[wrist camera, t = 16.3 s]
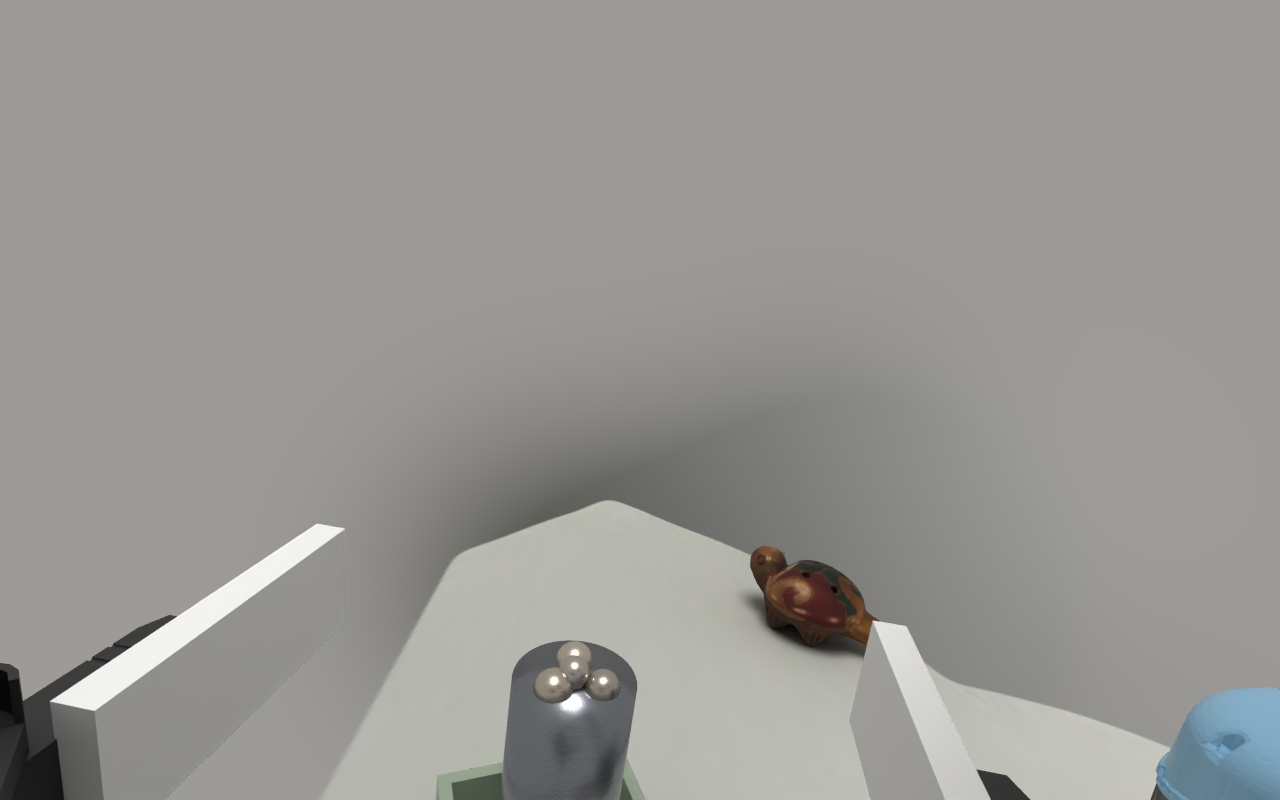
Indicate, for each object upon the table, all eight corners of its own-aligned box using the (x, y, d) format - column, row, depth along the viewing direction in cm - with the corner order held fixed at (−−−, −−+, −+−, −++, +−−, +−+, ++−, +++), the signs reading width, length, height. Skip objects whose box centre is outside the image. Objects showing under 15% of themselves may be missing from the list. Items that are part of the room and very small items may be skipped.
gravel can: (589, 815, 43) (618, 614, 40) (621, 919, 37) (659, 691, 33) (484, 836, 41) (505, 624, 37) (499, 951, 34) (526, 708, 31)
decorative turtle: (751, 587, 78) (767, 528, 76) (877, 642, 71) (898, 578, 70) (723, 620, 69) (740, 554, 67) (863, 685, 63) (887, 614, 61)
